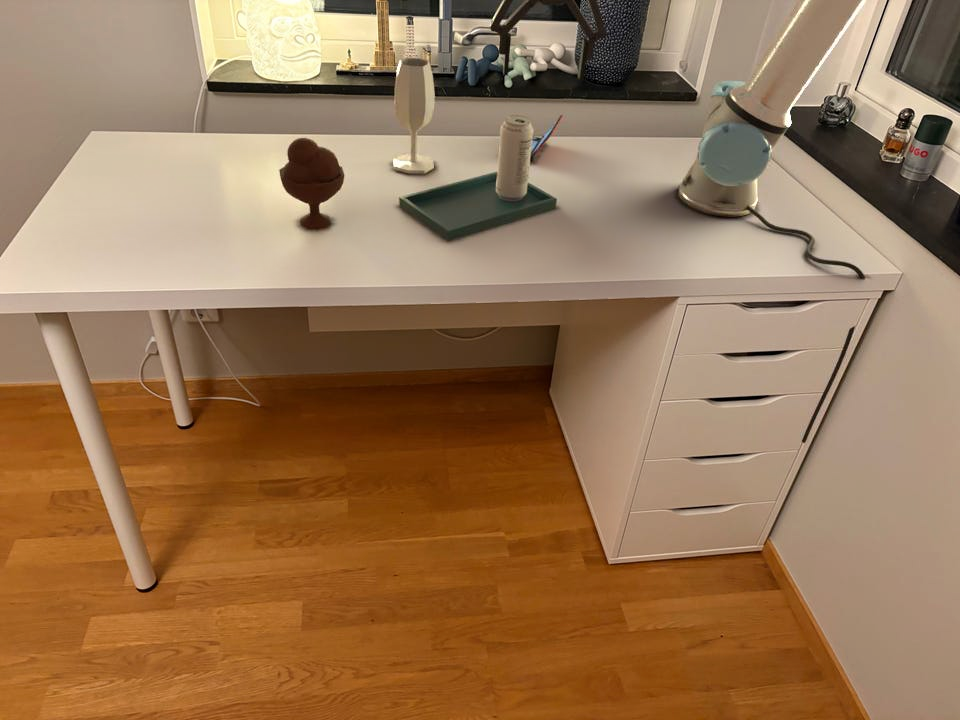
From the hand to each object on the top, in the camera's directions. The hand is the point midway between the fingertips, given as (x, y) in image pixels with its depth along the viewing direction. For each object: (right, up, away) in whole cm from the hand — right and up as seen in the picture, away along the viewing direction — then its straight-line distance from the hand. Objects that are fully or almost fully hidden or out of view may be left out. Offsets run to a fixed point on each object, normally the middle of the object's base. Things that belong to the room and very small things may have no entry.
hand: (543, 75), depth 137 cm
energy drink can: (-5, -19, +11) cm, 23 cm away
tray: (-12, -22, +7) cm, 26 cm away
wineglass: (-25, -11, +21) cm, 34 cm away
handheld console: (0, -5, +31) cm, 31 cm away
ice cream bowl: (-41, -27, -2) cm, 49 cm away
